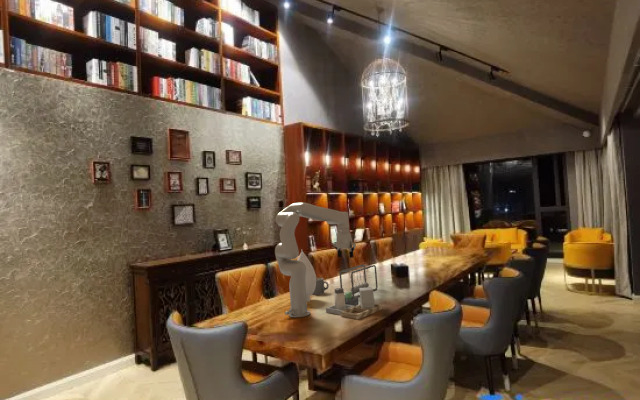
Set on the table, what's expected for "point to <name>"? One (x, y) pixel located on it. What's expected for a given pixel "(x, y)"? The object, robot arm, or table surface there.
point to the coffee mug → (320, 286)
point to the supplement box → (366, 298)
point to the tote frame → (335, 311)
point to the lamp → (308, 276)
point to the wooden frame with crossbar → (360, 311)
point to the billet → (339, 299)
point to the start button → (348, 295)
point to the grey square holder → (352, 301)
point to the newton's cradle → (356, 288)
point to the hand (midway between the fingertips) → (345, 257)
